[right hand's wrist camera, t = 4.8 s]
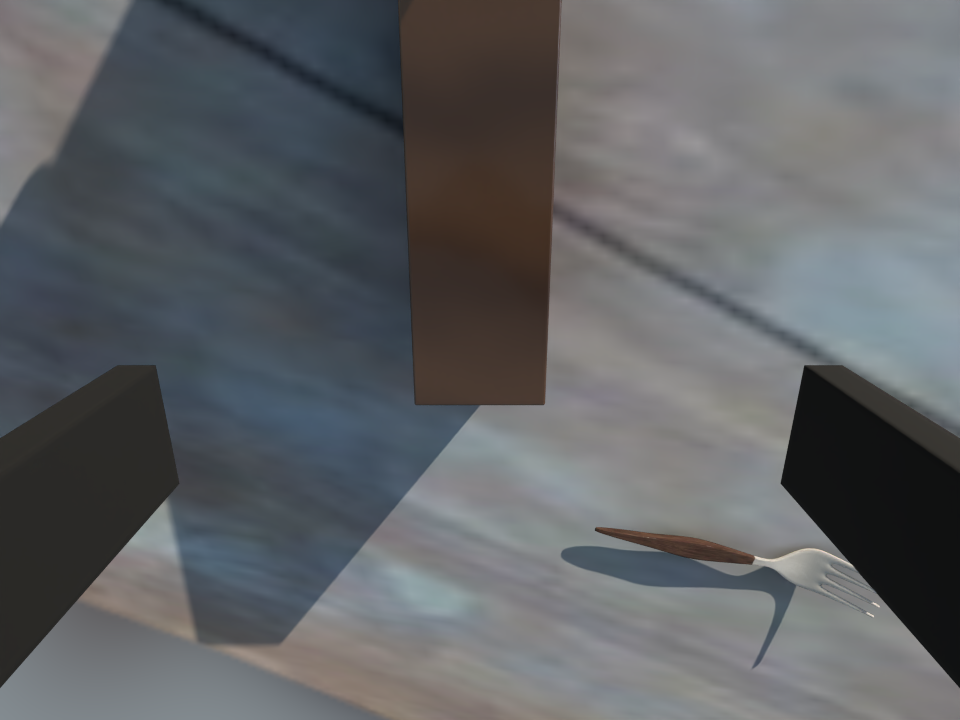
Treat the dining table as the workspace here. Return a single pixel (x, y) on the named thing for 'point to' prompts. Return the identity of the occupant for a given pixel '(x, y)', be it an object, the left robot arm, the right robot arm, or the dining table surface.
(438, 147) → the plank
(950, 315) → the dining table surface
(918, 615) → the right robot arm
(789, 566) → the fork
